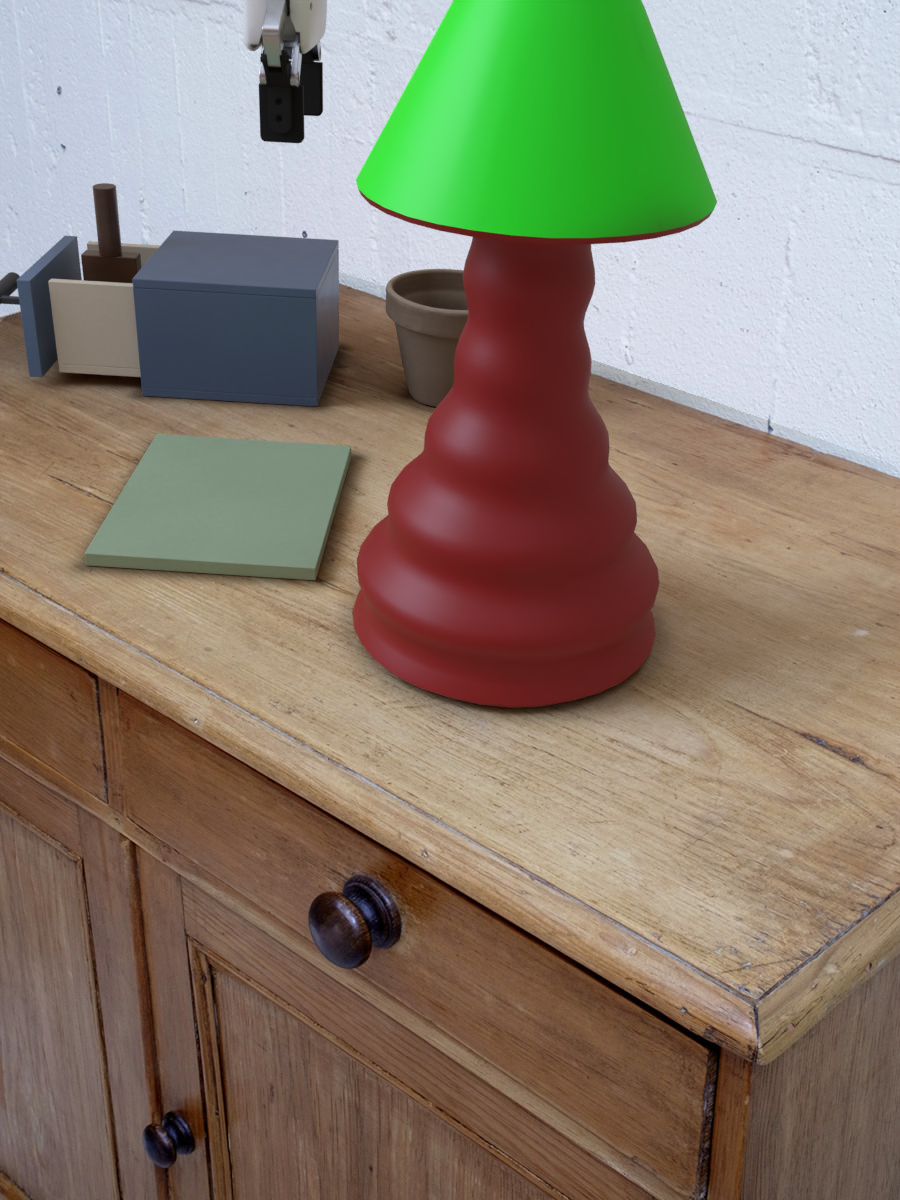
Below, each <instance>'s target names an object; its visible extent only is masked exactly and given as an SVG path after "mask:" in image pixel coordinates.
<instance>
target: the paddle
mask: <svg viewBox="0 0 900 1200" xmlns="http://www.w3.org/2000/svg"><path fill="white" fill-rule="evenodd" d="M117 191H118V190H117V186H116V184H114V183H107V182H106V183H105V182H102V183H96V184H93V185H92V193H93V194H92V195H93V205H94V215H95V225H96V234H97V235H96V236H97V242H98V246H99V251H97V250H87V249H85V250H84V251H83V252H82V253H81V254H80V259H81V268H82V269H81V271H82V280H83V281H100V282H117V283H133V282H132V279H133V278H134V276H135V275H136V274H137V273H138V272H139V270H140V269H141V256H140V253H131V252H122V247H121V243H122V238H121V237H122V235H121V225H120V215H119V204H118V202H119V201H118V193H117Z"/></svg>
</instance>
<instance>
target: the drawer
mask: <svg viewBox="0 0 900 1200" xmlns="http://www.w3.org/2000/svg"><path fill="white" fill-rule="evenodd" d="M161 245H162V244H160V245H158V244H143V243H142V244H141V243H128V242H127V243H124V242H121V247H122V252H131V253H140V256H141V268H142V267H143V266H144V265H145V263H146V262H147V261H148V260H149V259H150V258H151V256H152V255H153V254H154V253H155V252H156V250H157V249H158V248H159V247H160V246H161ZM86 250H97V251H99V246H98V241H91V240H90V241H88V242H87V243H86ZM80 259H81V258H80V251H79V241H78V236H76V235H64V236H62V238H61V239H59V240H58V241H57V242H56V243H55V244H54V245H53V246H52V247H50V249H48V250H47V251H46V252H45V253H44V254H43V255H42V256H40V258H39V259H37V260H36V261H35V262H34V263H33V264H32V265H31V266H30V267H29V268H28V269H27V270H25V271H24V272H23V274H21V275H19V274H18V273H16V272H14V271H10V272H8V273H6V275H4V276H3V277H2V278H1V279H0V305H18V306H19V309H20V317H21V324H22V331H23V339H24V346H25V347H24V348H25V354H26V362H27V369H28V376H29V378H43V377H44V376H45V375H46V374H47V373H48V371H49V370H50V369H51V368H52V367H53V366H54V365H55V364H56V363H58V364H57V365H58V372H59V373H65V374H66V373H67V374H80V375H81V374H83V375H99V376H113V377H115V376H116V377H117V376H118V377H132V378H141V375H140V363H139V352H138V340H137V329H136V317H135V306H134V294H133V288H134V287H133V283H117V282H100V281H84V279H83V277H82V269H81V268H82V267H81V261H80ZM16 290H17V294H18V295H17V296H16V295H12V294H13V293H14V292H15V291H16Z"/></svg>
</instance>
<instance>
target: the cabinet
mask: <svg viewBox="0 0 900 1200" xmlns="http://www.w3.org/2000/svg"><path fill="white" fill-rule="evenodd" d="M160 245H161V246H160V247H159V248H158V249H157V250H156V252H155V253H154V254H153V255H152V256H151V258H150V259H149V260H148V261H147V262H146V263H145V265H144V266H143V267H142V268H141V269H140V270H139V272H138V273H137V274H136V275H135V276H134V278H133V279H132V282H133V287H134V288H133V294H134V306H135V317H136V329H137V340H138V352H139V363H140V375H141V377H140V384H141V385H140V387H141V395H142V396H143V397H154V398H155V397H156V398H158V397H159V398H172V399H173V398H174V399H189V400H205V401H220V402H221V401H223V402H237V403H251V404H252V403H253V404H255V403H256V404H269V405H284V406H285V405H286V406H300V407H301V406H302V407H318V406H319V404H320V400H321V398H322V395H323V392H324V389H325V387H326V384H327V382H328V379H329V376H330V373H331V370H332V367H333V365H334V362H335V360H336V357H337V354H338V352H339V348H340V257H339V256H340V249H339V248H340V241H339V240H338V239H324V238H311V237H310V238H307V237H294V236H293V237H291V236H290V237H289V236H274V235H257V234H242V233H241V234H240V233H224V232H206V231H205V232H204V231H189V230H188V231H187V230H172V232H170V234H169V235H168V236H167V238H165V240H164V241H163V242H162V243H161V244H160Z"/></svg>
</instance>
